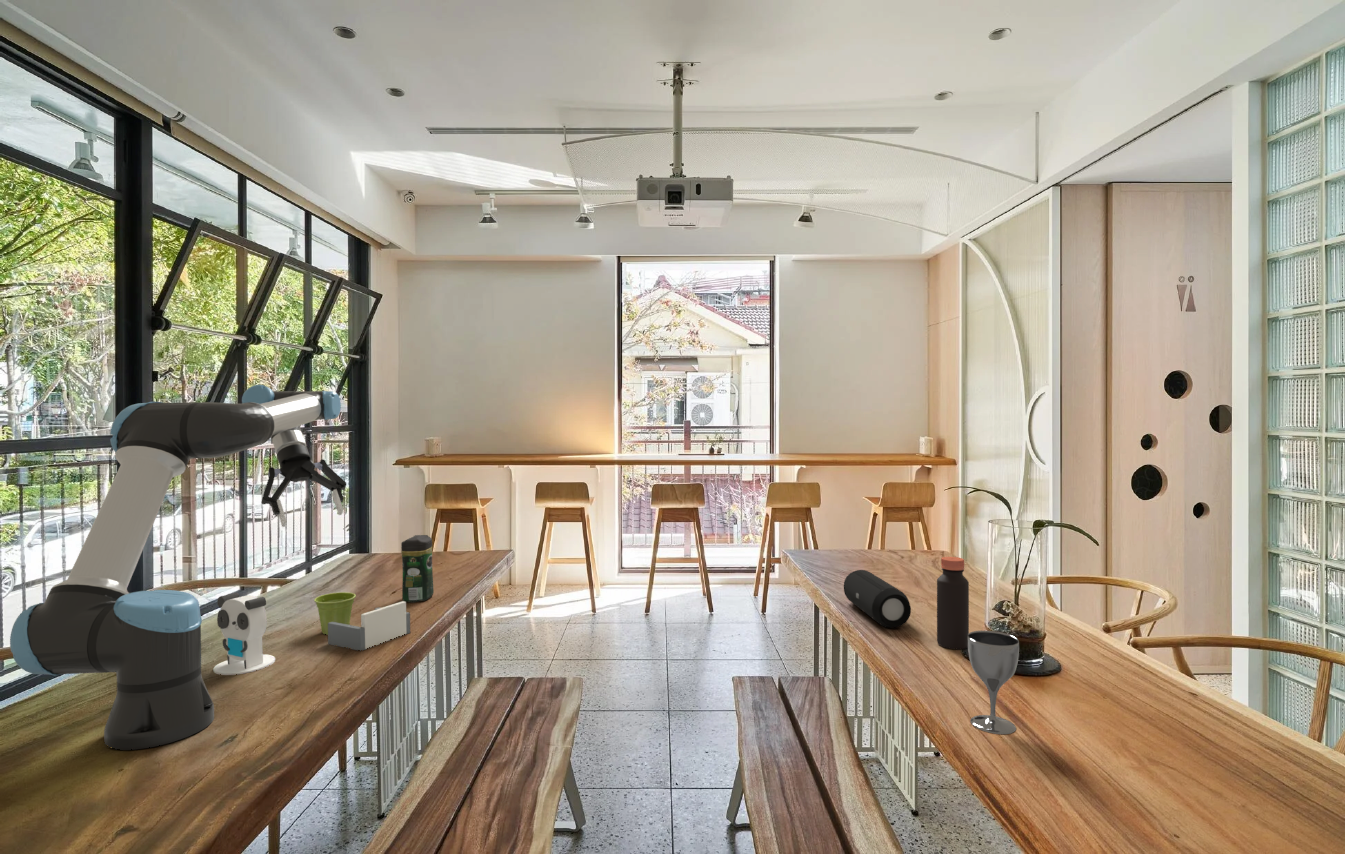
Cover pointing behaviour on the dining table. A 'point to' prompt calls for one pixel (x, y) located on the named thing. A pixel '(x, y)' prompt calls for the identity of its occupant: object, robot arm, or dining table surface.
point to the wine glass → (993, 672)
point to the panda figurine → (242, 634)
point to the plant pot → (334, 608)
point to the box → (371, 628)
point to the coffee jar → (417, 568)
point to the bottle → (952, 605)
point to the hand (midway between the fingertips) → (313, 518)
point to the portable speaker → (877, 598)
